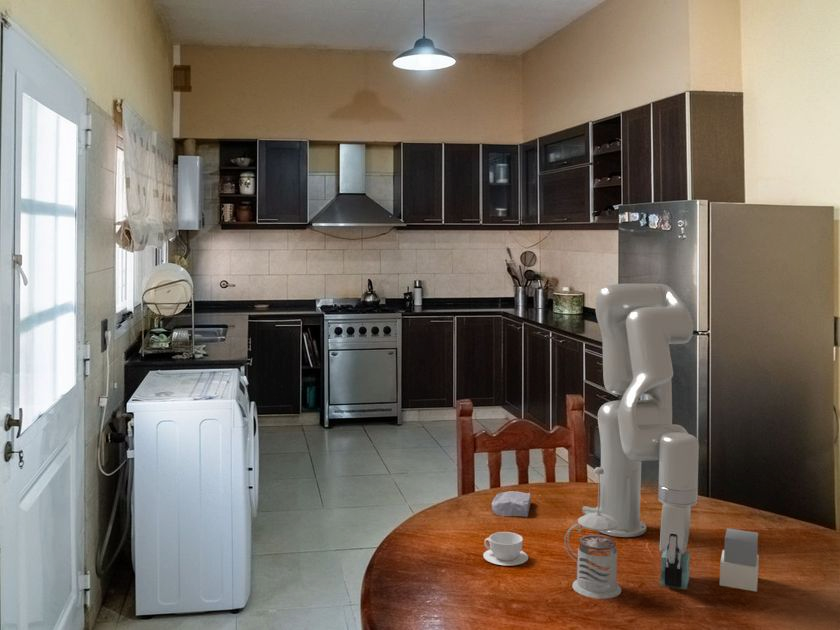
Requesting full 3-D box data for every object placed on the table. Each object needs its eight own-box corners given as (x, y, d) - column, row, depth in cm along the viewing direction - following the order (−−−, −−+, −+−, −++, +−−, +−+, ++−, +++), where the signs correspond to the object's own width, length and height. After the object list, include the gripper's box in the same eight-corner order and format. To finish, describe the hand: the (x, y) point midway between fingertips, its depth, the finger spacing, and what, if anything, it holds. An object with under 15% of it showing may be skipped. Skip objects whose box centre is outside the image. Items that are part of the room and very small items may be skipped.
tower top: (724, 561, 158) (724, 537, 158) (726, 551, 164) (727, 528, 163) (755, 566, 156) (756, 542, 155) (757, 556, 161) (758, 532, 161)
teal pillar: (660, 585, 159) (661, 557, 158) (663, 575, 163) (664, 548, 163) (686, 589, 157) (687, 561, 156) (688, 580, 161) (689, 552, 160)
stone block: (492, 523, 199) (531, 518, 197) (488, 505, 199) (527, 499, 197) (496, 509, 211) (533, 504, 209) (493, 492, 211) (529, 486, 209)
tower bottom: (719, 585, 159) (720, 562, 158) (721, 572, 165) (722, 550, 164) (756, 592, 156) (757, 568, 155) (757, 578, 162) (758, 555, 161)
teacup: (533, 553, 175) (533, 533, 175) (520, 570, 166) (521, 549, 166) (491, 546, 179) (491, 527, 179) (476, 563, 170) (476, 542, 170)
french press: (612, 603, 151) (615, 477, 148) (556, 589, 157) (558, 468, 155) (628, 584, 159) (630, 464, 157) (573, 571, 165) (575, 456, 163)
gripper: (664, 480, 167) (661, 560, 169) (652, 504, 152) (649, 593, 154) (700, 484, 164) (698, 566, 166) (692, 510, 149) (689, 600, 150)
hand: (675, 578), depth 160 cm, fingers open, 6 cm apart
